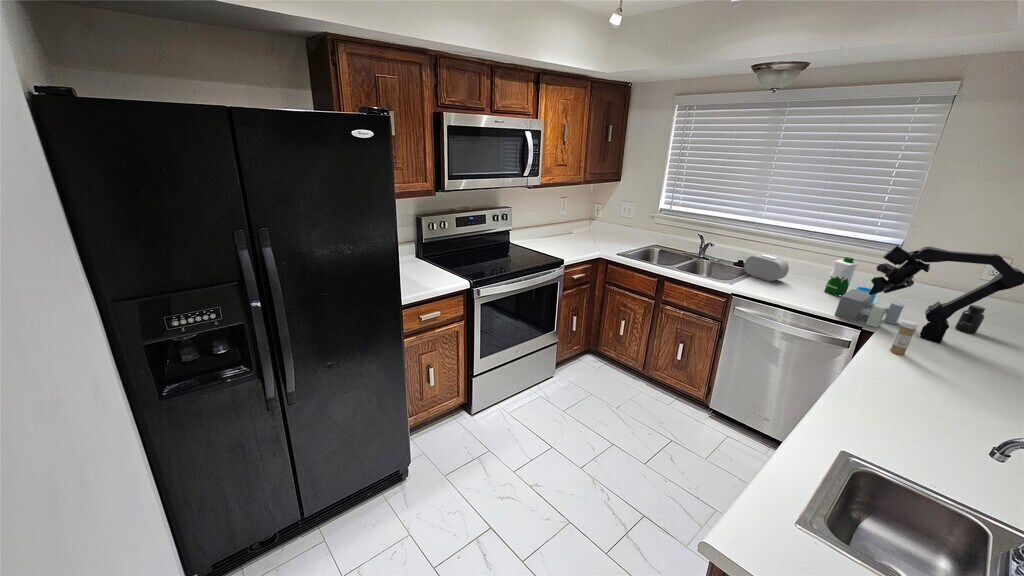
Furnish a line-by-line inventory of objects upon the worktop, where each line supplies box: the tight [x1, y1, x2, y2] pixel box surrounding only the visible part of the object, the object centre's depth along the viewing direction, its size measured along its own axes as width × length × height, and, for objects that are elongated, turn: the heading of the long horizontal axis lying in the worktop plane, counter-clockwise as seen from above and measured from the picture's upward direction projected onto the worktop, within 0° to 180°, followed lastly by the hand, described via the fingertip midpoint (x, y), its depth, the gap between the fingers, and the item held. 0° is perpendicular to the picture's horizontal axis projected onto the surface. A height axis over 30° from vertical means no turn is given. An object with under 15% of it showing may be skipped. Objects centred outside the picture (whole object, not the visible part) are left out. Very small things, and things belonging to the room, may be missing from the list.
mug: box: [856, 286, 877, 304], centre depth 211 cm, size 12×8×8 cm
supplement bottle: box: [955, 304, 986, 335], centre depth 184 cm, size 7×7×12 cm
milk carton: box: [823, 256, 858, 297], centre depth 222 cm, size 9×9×20 cm
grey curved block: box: [834, 288, 872, 323], centre depth 197 cm, size 8×18×10 cm, turn 128°
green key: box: [859, 303, 888, 328], centre depth 190 cm, size 14×5×9 cm, turn 38°
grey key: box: [866, 301, 905, 325], centre depth 195 cm, size 16×5×9 cm, turn 38°
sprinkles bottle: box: [889, 319, 919, 356], centre depth 161 cm, size 5×5×14 cm
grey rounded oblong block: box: [743, 254, 790, 282], centre depth 242 cm, size 21×10×13 cm, turn 32°
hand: (877, 293), depth 190 cm, fingers open, 9 cm apart
